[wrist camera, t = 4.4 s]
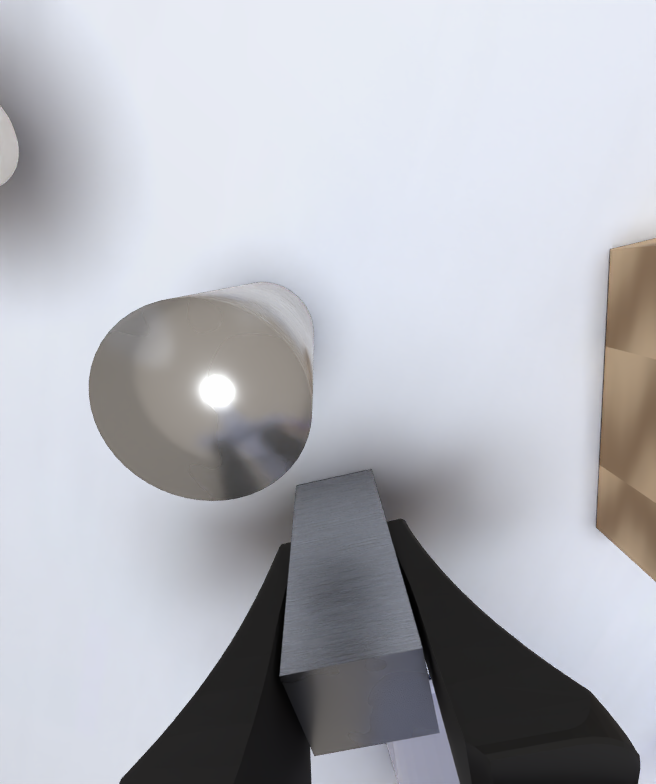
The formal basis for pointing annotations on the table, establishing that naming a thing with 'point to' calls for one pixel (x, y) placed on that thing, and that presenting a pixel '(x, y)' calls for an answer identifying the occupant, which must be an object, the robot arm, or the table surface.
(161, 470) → the round bit
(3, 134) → the lightbulb
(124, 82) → the table surface
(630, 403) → the bore block
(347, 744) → the square bit
